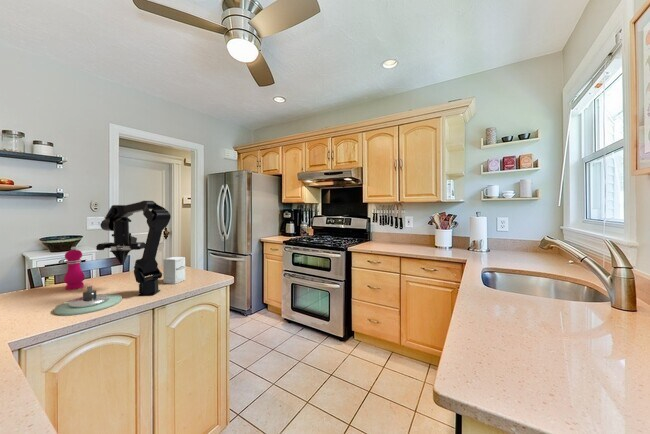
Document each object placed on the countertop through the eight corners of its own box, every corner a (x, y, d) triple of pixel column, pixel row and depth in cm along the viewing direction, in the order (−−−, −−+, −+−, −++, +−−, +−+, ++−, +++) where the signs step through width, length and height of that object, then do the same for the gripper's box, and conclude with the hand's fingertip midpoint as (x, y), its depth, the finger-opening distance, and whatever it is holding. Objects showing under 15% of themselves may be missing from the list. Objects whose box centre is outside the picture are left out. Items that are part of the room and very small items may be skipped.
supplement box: (175, 284, 131) (174, 259, 130) (163, 283, 133) (162, 258, 132) (186, 280, 138) (185, 256, 138) (174, 279, 140) (173, 256, 139)
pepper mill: (74, 290, 121) (73, 248, 120) (59, 290, 121) (58, 247, 120) (89, 285, 128) (87, 245, 127) (74, 285, 128) (73, 245, 127)
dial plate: (132, 295, 115) (132, 292, 114) (98, 314, 95) (98, 310, 95) (83, 297, 112) (82, 294, 112) (37, 316, 92) (37, 313, 92)
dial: (110, 302, 103) (109, 292, 103) (67, 310, 95) (67, 299, 95) (108, 292, 114) (108, 283, 114) (70, 298, 106) (70, 289, 106)
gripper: (151, 229, 131) (152, 260, 132) (112, 229, 129) (112, 260, 130) (138, 232, 120) (139, 265, 121) (94, 232, 118) (95, 266, 119)
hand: (122, 264), depth 123 cm, fingers closed
